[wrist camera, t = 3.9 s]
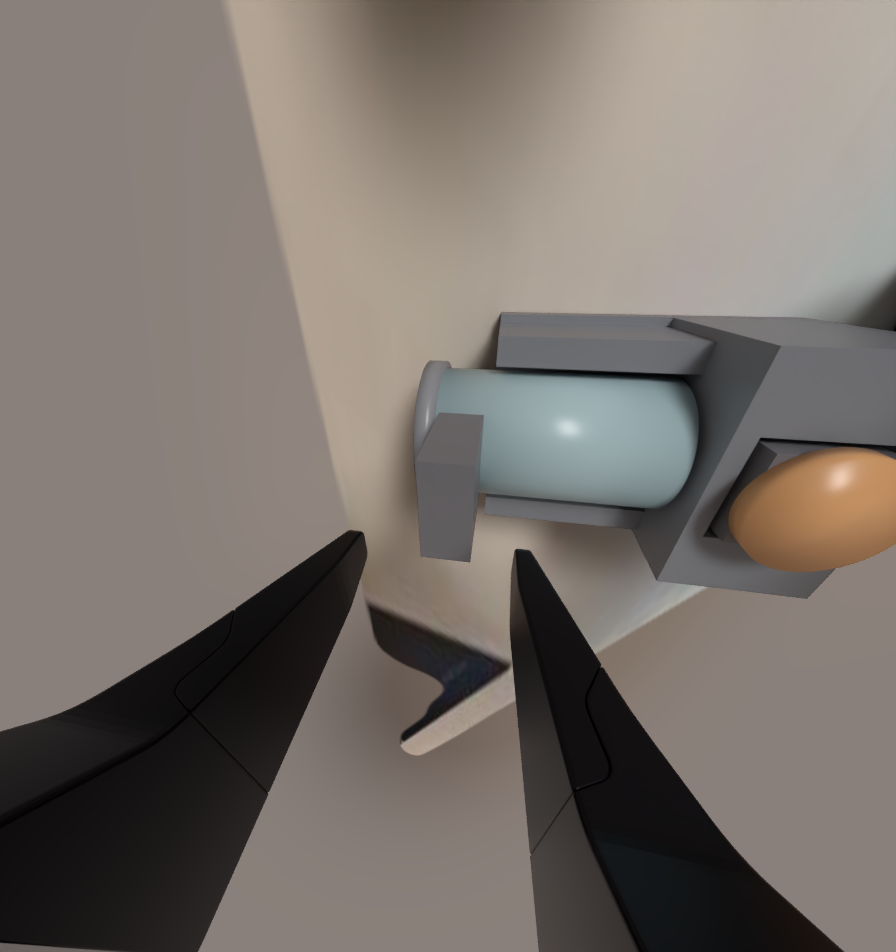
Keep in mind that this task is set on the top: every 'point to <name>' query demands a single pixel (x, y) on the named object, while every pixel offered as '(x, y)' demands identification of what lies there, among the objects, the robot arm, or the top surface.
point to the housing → (715, 417)
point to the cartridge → (544, 443)
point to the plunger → (811, 504)
